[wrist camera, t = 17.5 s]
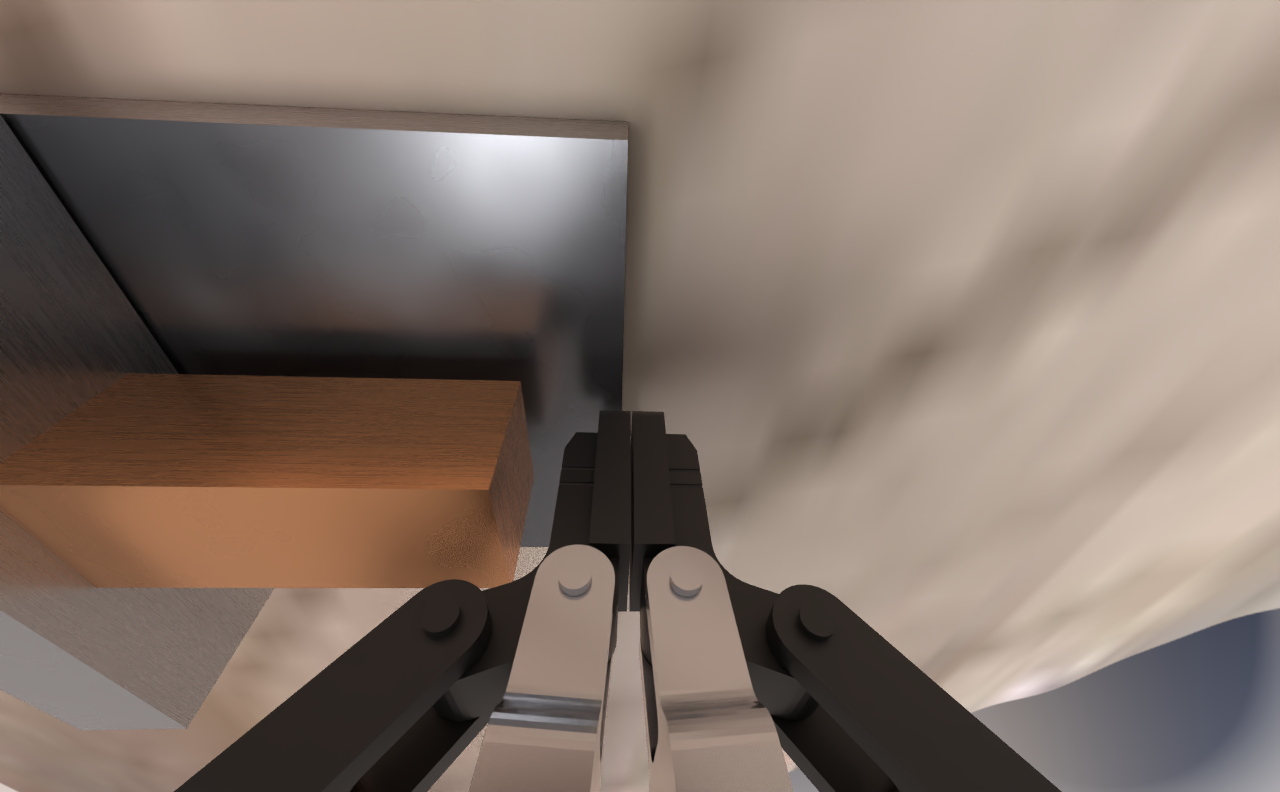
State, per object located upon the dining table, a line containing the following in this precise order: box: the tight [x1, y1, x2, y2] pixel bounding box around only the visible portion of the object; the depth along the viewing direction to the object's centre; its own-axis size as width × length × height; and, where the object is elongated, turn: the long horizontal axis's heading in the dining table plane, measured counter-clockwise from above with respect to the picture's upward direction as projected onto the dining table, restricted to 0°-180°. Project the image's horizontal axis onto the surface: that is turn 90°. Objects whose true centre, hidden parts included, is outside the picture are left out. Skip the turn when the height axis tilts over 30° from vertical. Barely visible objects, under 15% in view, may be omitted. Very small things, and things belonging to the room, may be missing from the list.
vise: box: [0, 94, 628, 547], centre depth 10 cm, size 12×26×7 cm, turn 88°
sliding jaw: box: [0, 115, 534, 730], centre depth 10 cm, size 12×10×5 cm
